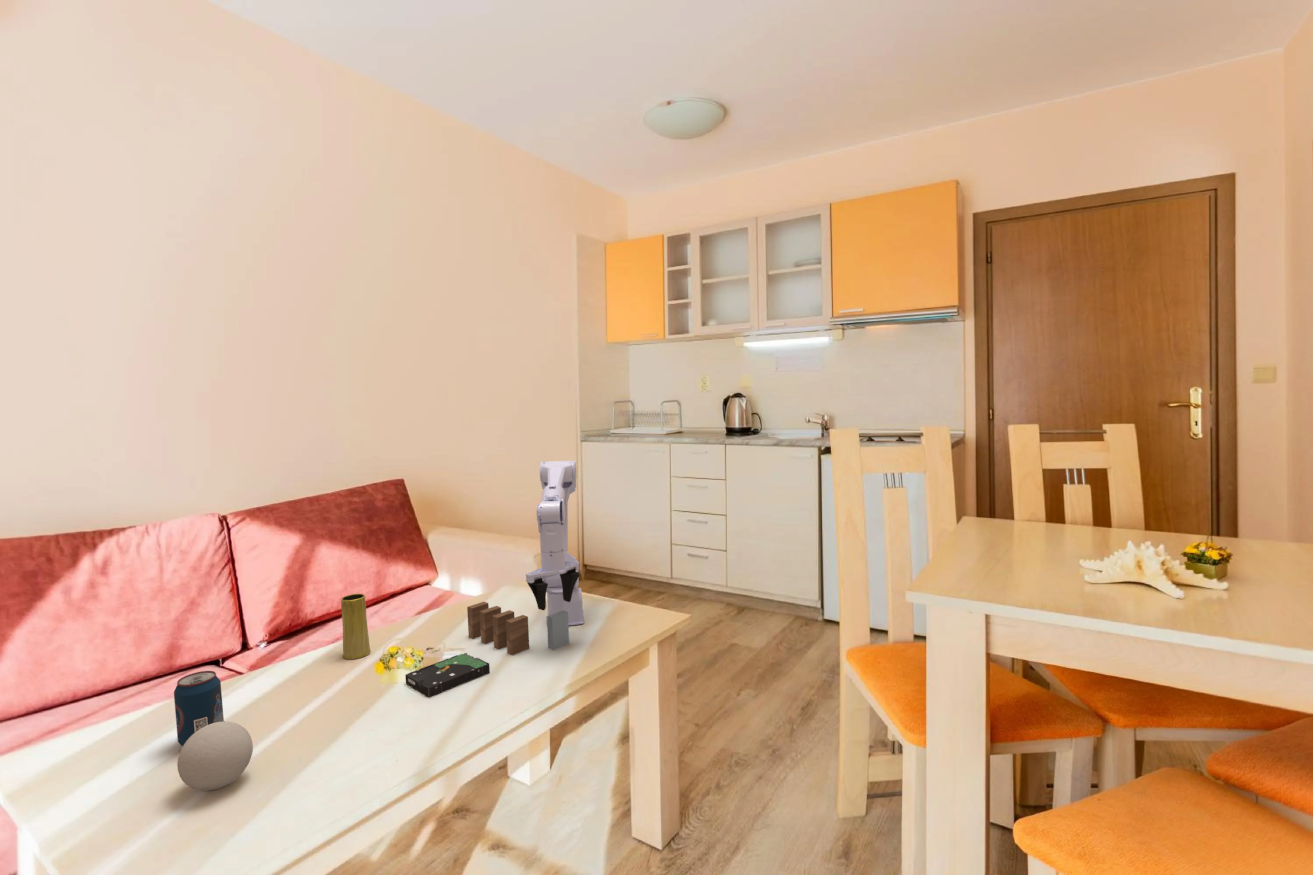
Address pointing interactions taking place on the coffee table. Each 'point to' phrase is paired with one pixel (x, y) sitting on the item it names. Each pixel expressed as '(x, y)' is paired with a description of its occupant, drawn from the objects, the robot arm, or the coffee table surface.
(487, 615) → the domino
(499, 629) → the brown wooden block
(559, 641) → the domino
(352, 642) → the vase
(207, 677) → the soda can
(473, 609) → the pushed domino
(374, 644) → the coffee table surface
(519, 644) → the domino
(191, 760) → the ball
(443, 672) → the disk drive
